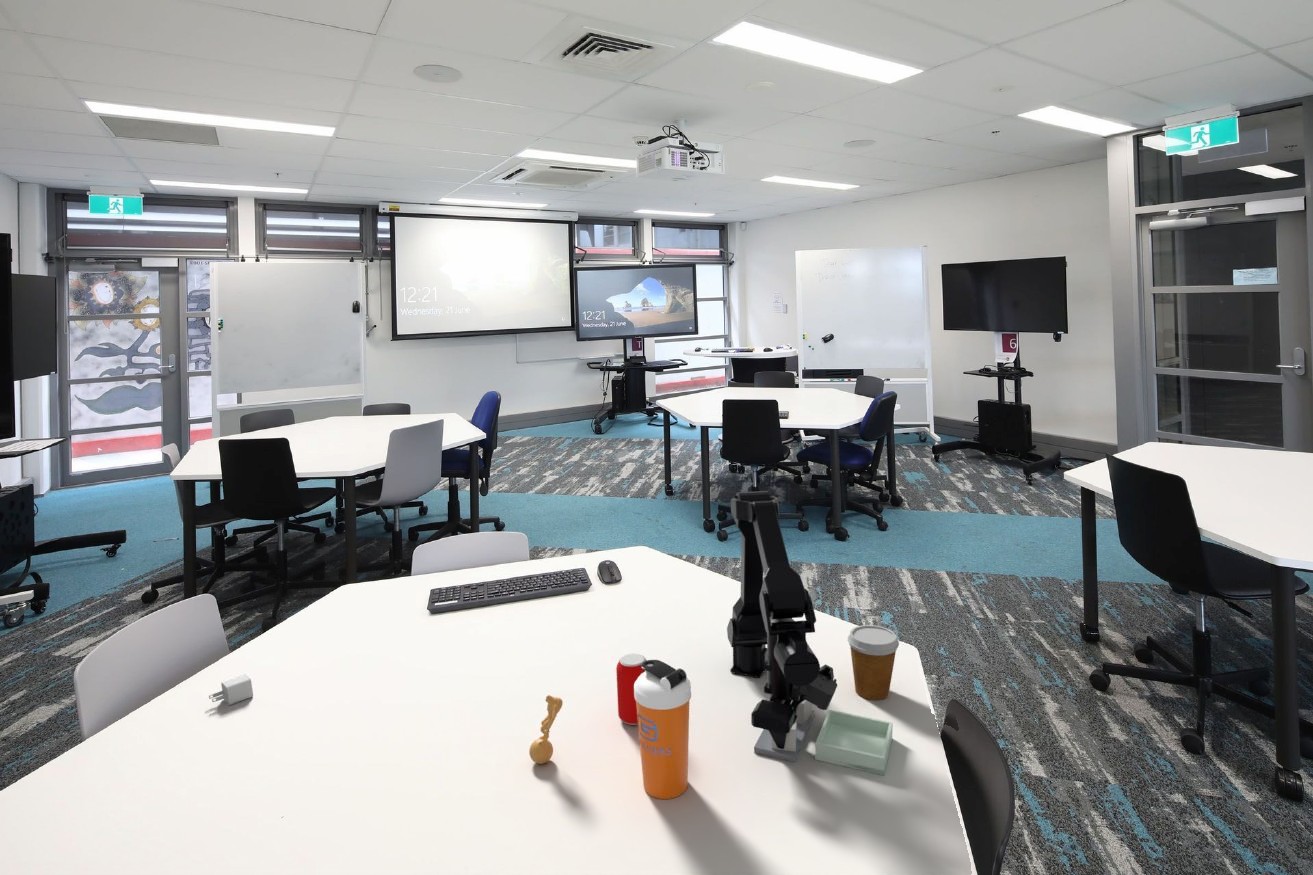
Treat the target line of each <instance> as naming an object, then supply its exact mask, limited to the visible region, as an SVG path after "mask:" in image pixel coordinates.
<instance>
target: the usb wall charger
mask: <svg viewBox="0 0 1313 875" xmlns="http://www.w3.org/2000/svg"><path fill="white" fill-rule="evenodd" d="M220 683H221V690H220V691H217V692H215V693H212V694H210V695H208V699H211V701H212V703H215V702H218V701H222V700H223V701H224V702H225V703H226V704H227V705H228V706H231V705H233V704H237V703H239V702H240V703H241V701H244V700H248V699H249V698H253V697H254V692H253V690H254V689H253V684H252V680H251V678H250V677H249V675H247V674H241V675H238V676H237V677H234V678H229V679H227V680H225V681H222V682H220Z"/></svg>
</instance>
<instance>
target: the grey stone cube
mask: <svg viewBox="0 0 1313 875" xmlns="http://www.w3.org/2000/svg"><path fill="white" fill-rule="evenodd" d="M812 706H813V704H812V703H810V702H809V701H807V700H804V701H803V702H801V703H800V704H799V705H798V708H797V712H796V715H797V716H798V717H797V723H800V724H803V725H804V724H805V722H806V721H807V720H808V718H809V717H810V716H811V714H812V710H813V709H812V708H813V707H812Z"/></svg>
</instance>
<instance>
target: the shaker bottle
mask: <svg viewBox="0 0 1313 875" xmlns="http://www.w3.org/2000/svg"><path fill="white" fill-rule="evenodd" d="M646 660H647V659H646ZM642 669H643V670H645V672H644V673H642V674H641V675H640V676H639V677H638V679H637V680H636V682H635V683H634V698H635V700H636V706H637V717H638V725H637V726H638V727H637V728H638V736H639V738H638V739H639V749H640V760H641V761H640V763H641V772H642V782H643V789H644V791H645V792H646V793H647V794H648V795H649V796H651V797H653V798H656V799H661V800H670V799H674V798H677V797H679V796H681V795H682V794H684V793H685V791H686V790H687V788H688V780H689V779H688V775H689V739H690V738H689V737H690V735H689V733H690V732H689V730H690V700H691V697H692V690H691V688H692V686H691V685H692V684H691V680H690V679H689V678H688V675H687V672H686V671H685V670H684V669H683V668H677V669H676V668H674V667H673V666H671V665H669V664H668V663H666V662H664V661H661V660H658V659H648V660H647V661H645V662H643V663H642Z"/></svg>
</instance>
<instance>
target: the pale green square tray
mask: <svg viewBox="0 0 1313 875" xmlns="http://www.w3.org/2000/svg"><path fill="white" fill-rule="evenodd" d="M893 723H894V722H892V721H887V720H882V719H877V718H872V717H868V716H863V715H859V714H858V715H857V714H852V713H847V712H843V711H838V710H833V709H827V713H826V716H825V718H824V720H823V723H822V726H821V729H820V731H819V734H818V736H817V738H816V741H815V746H814V747H815V749H814V750H815V753H814V756H815V757H814V758H815V760H816V761H820V762H825V763H829V764H833V765H836V766H837V765H838V766H842V767H846V768H851V769H854V770H858V771H863V772H868V773H872V774H876V775H881V776H885V772H886V767H887V763H888V760H889V754H890V749H891V746H892V740H893V727H894V724H893Z"/></svg>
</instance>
